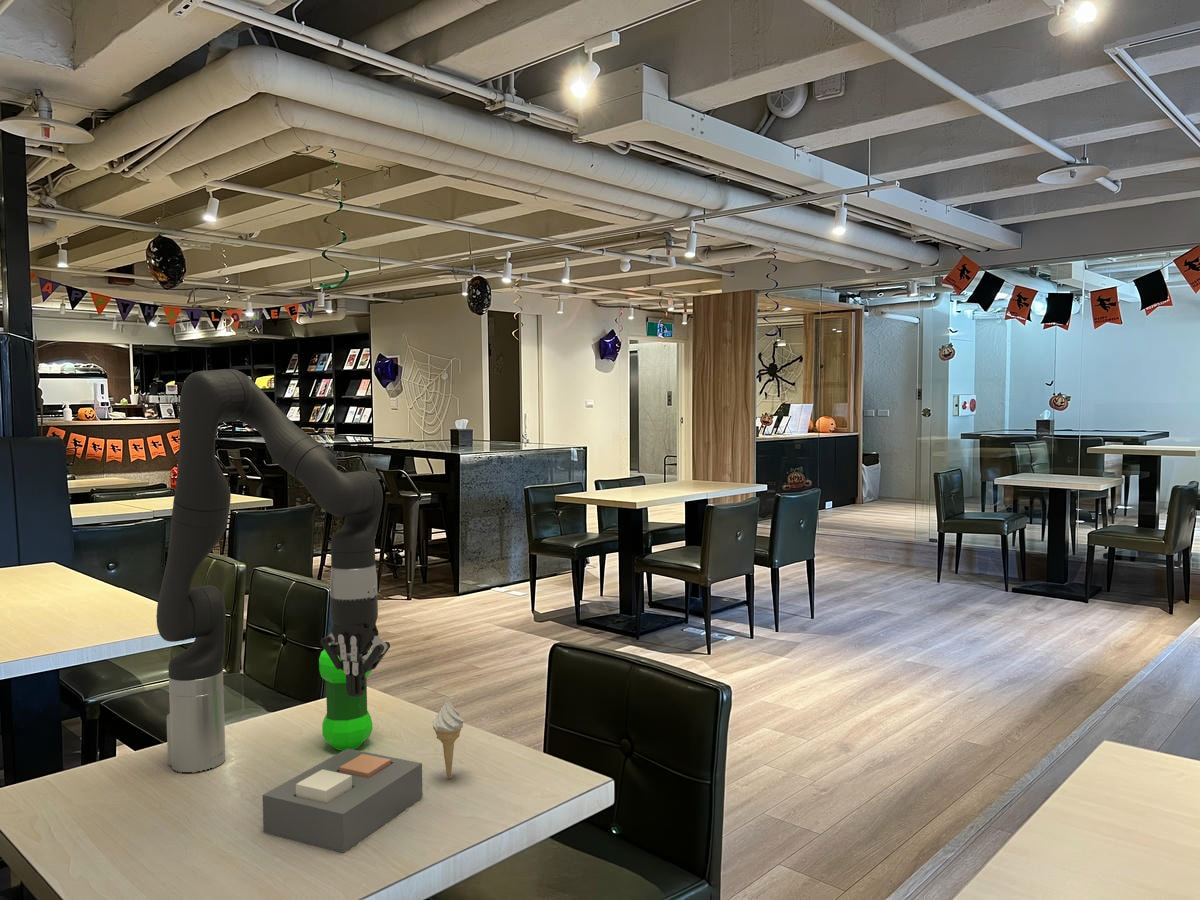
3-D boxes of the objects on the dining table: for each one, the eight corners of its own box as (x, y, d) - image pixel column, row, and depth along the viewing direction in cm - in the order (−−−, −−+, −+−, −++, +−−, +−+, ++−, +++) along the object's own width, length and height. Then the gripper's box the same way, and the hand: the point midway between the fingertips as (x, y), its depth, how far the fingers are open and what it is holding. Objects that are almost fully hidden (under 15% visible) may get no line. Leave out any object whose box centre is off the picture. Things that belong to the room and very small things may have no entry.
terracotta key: (339, 784, 147) (339, 767, 146) (362, 770, 152) (362, 753, 152) (368, 790, 144) (368, 773, 144) (391, 776, 150) (390, 759, 149)
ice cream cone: (470, 775, 158) (469, 694, 157) (452, 788, 153) (451, 704, 152) (444, 770, 161) (443, 690, 160) (426, 782, 156) (425, 699, 155)
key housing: (263, 831, 138) (262, 794, 138) (348, 781, 156) (347, 748, 156) (343, 852, 131) (343, 814, 131) (422, 797, 150) (422, 763, 149)
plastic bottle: (312, 743, 173) (309, 619, 172) (363, 731, 180) (361, 611, 178) (330, 760, 165) (327, 630, 164) (383, 747, 172) (380, 621, 170)
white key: (296, 802, 137) (295, 784, 137) (322, 787, 143) (322, 769, 143) (326, 809, 135) (325, 790, 135) (352, 793, 140) (351, 775, 140)
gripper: (306, 593, 143) (308, 697, 144) (372, 600, 138) (374, 708, 139) (336, 584, 150) (339, 683, 151) (400, 591, 145) (402, 693, 146)
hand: (356, 695), depth 145 cm, fingers closed
